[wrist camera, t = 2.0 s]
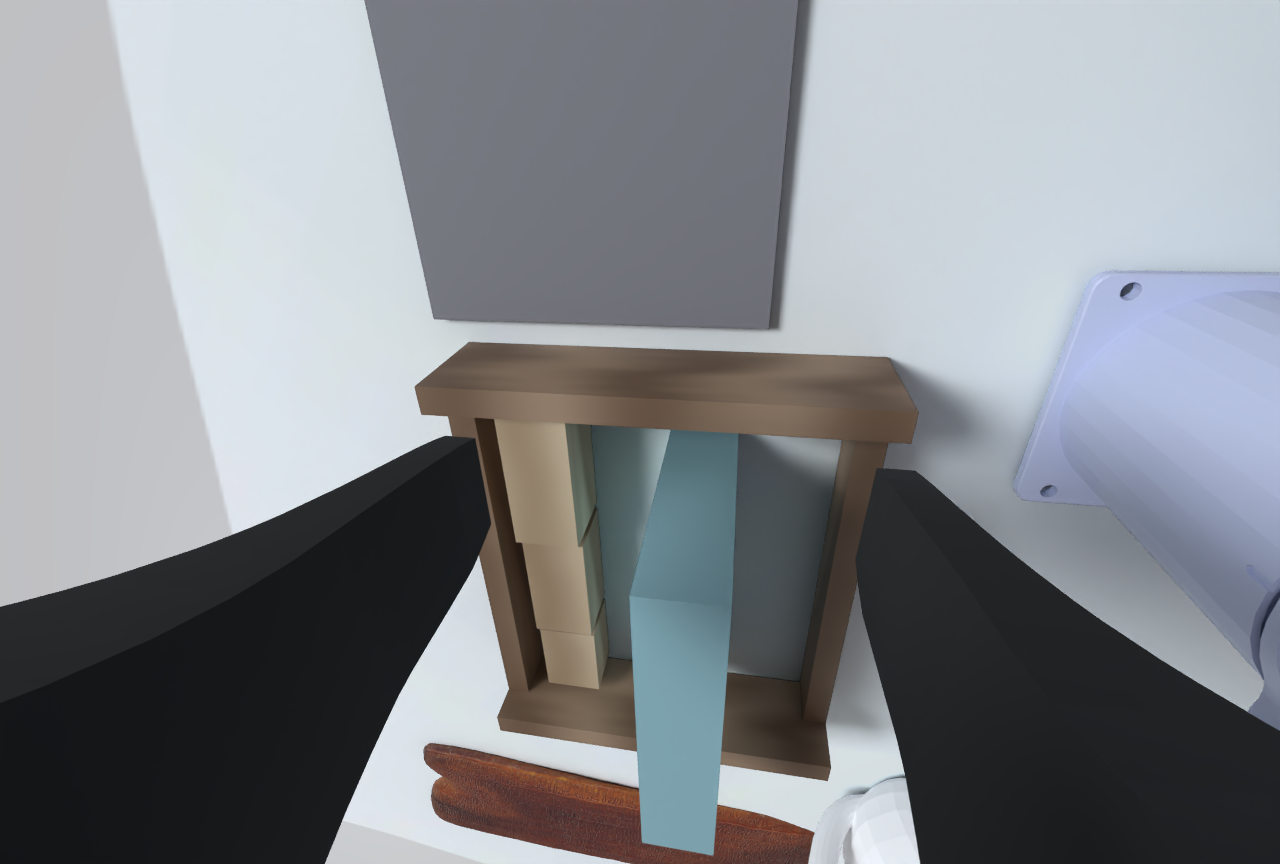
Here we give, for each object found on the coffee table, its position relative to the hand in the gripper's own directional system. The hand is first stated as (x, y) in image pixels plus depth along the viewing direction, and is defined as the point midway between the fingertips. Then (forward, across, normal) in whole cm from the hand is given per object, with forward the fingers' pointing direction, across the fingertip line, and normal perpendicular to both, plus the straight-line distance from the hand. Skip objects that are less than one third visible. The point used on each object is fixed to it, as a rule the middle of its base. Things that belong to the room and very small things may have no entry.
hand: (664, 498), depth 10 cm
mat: (+10, +4, -8) cm, 14 cm away
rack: (+10, +1, +10) cm, 15 cm away
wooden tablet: (+11, +4, +35) cm, 37 cm away
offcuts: (+10, +5, +10) cm, 16 cm away
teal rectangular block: (+10, 0, +10) cm, 15 cm away
